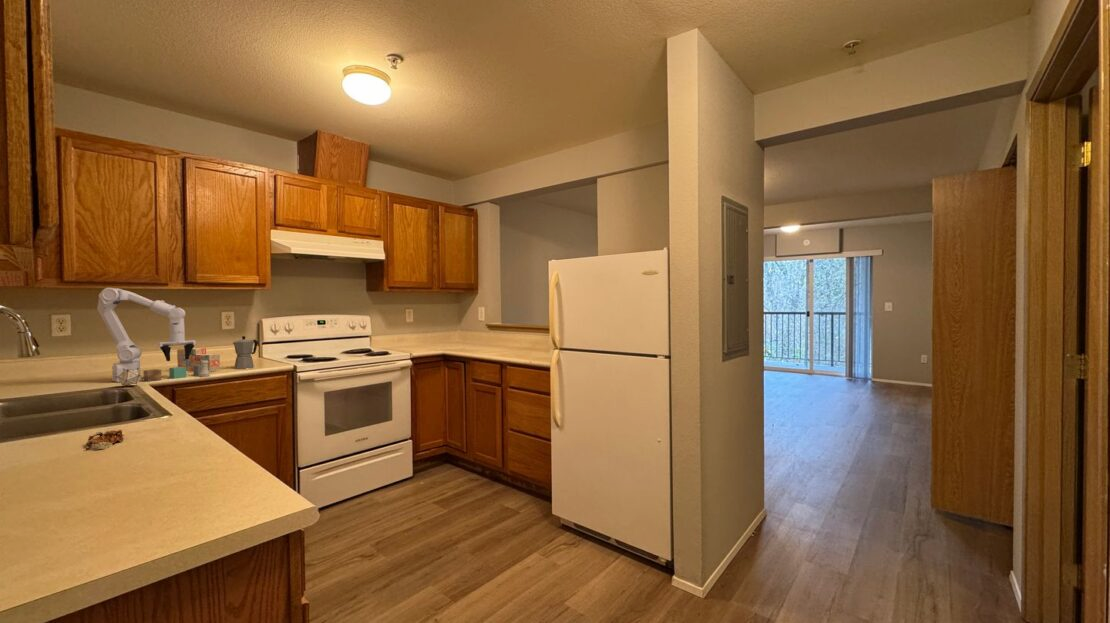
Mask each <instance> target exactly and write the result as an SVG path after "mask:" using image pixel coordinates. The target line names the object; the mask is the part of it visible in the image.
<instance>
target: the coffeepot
mask: <svg viewBox="0 0 1110 623" xmlns="http://www.w3.org/2000/svg"><path fill="white" fill-rule="evenodd" d="M241 338H242V339H239V340H236V341H233V342H232V345H234V351H235V354H236V357H235V363H234V368H233V369H235V368H236V369H235V370H247V369H246V368H250V369H253V367H254V368H255V366H254V361H253V356H252V355H254V354H256V351H257V347H258V344H259V342H258V340H257V339H246V336H245V335H243V336H241Z"/></svg>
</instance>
